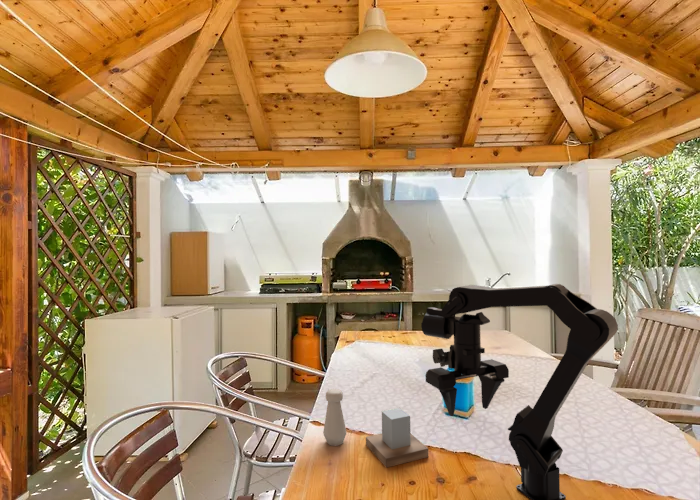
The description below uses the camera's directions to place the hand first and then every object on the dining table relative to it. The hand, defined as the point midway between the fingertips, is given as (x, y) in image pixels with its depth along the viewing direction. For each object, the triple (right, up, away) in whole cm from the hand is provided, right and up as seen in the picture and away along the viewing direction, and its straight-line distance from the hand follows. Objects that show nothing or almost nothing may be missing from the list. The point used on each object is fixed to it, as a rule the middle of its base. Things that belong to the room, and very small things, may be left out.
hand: (468, 411), depth 90 cm
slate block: (-15, -10, +7) cm, 20 cm away
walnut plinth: (-15, -12, +7) cm, 21 cm away
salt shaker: (-30, -13, +12) cm, 35 cm away
